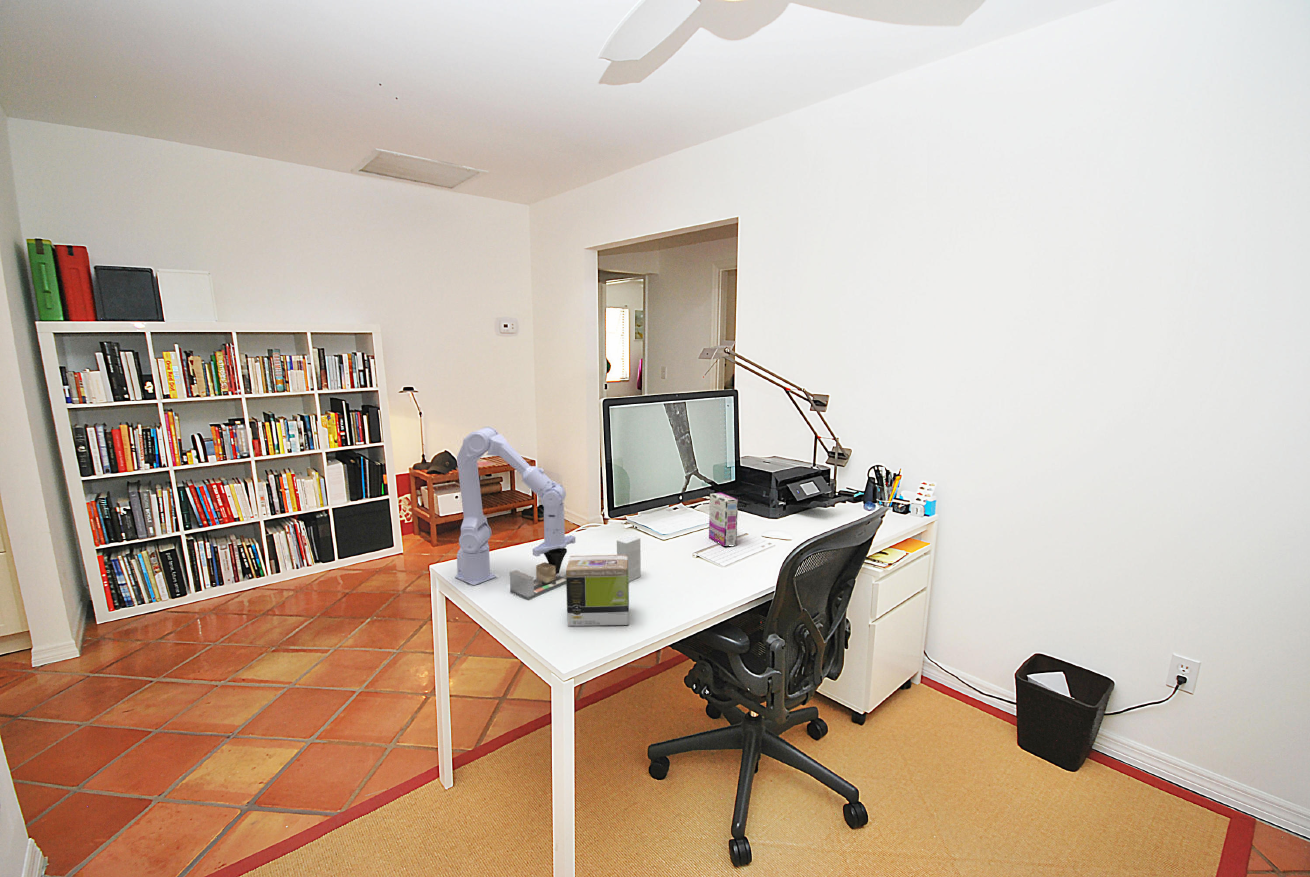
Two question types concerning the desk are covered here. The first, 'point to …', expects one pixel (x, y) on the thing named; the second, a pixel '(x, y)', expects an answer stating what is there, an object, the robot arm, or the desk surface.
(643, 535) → the desk surface
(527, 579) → the gauge bed
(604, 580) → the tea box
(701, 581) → the desk surface
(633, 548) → the skincare box
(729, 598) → the desk surface
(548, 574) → the gauge slider
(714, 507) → the candy bar box
